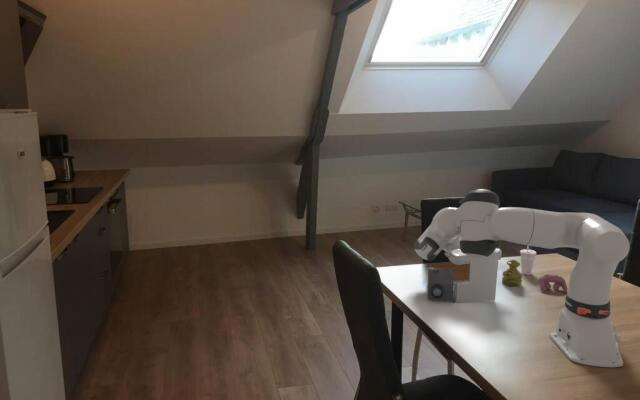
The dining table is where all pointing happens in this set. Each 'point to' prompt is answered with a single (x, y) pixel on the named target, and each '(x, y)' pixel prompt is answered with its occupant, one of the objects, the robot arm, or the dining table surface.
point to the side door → (479, 280)
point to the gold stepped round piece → (512, 275)
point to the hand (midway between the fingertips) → (487, 262)
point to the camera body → (440, 284)
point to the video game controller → (552, 278)
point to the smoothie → (527, 260)
